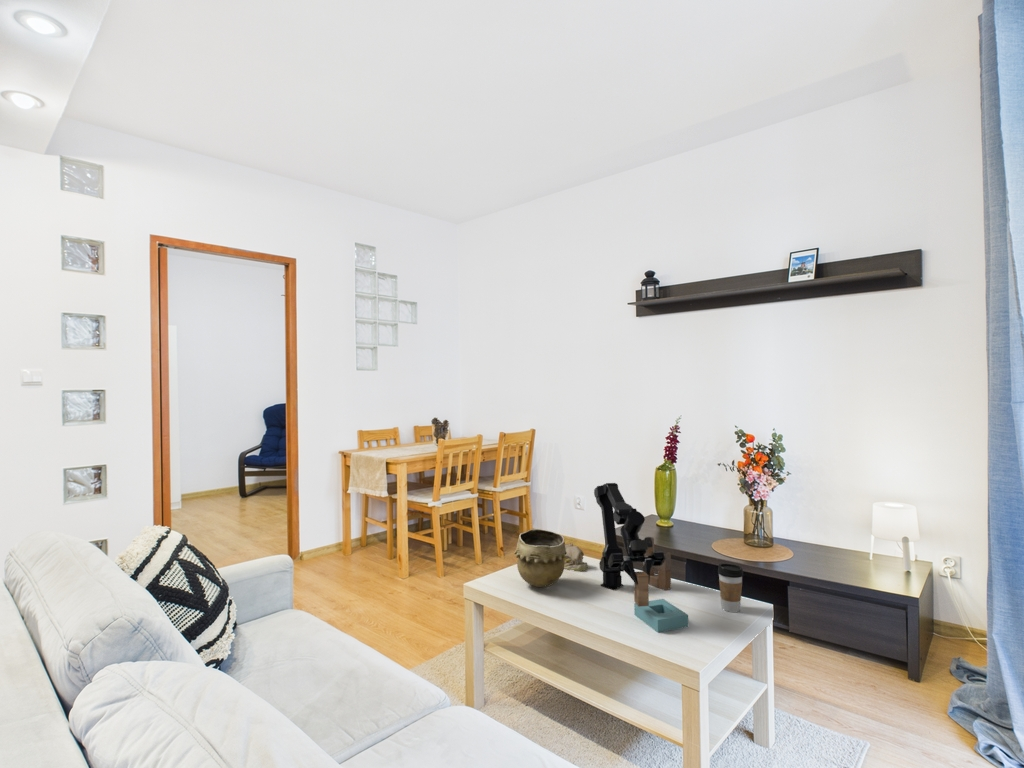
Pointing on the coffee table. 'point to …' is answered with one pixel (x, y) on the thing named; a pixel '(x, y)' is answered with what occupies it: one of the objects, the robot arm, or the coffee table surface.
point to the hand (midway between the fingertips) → (642, 583)
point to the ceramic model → (574, 558)
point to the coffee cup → (730, 586)
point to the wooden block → (660, 571)
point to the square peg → (641, 589)
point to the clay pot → (540, 557)
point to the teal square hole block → (661, 615)
